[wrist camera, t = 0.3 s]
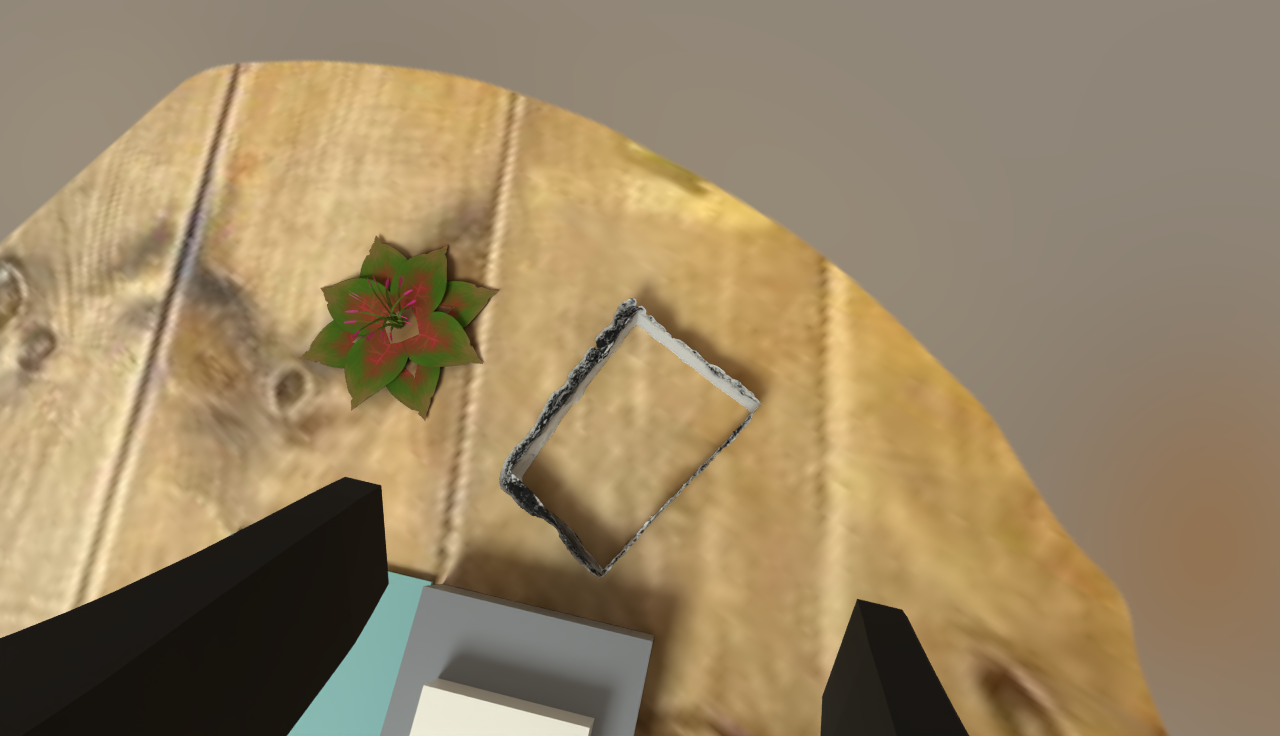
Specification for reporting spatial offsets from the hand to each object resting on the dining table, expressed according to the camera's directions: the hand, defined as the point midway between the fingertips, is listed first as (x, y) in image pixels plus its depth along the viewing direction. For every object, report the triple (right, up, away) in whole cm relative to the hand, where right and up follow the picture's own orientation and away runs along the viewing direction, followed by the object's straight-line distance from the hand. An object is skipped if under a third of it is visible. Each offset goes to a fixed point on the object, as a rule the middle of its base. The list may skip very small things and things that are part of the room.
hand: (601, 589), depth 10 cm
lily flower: (-14, +6, +33) cm, 36 cm away
